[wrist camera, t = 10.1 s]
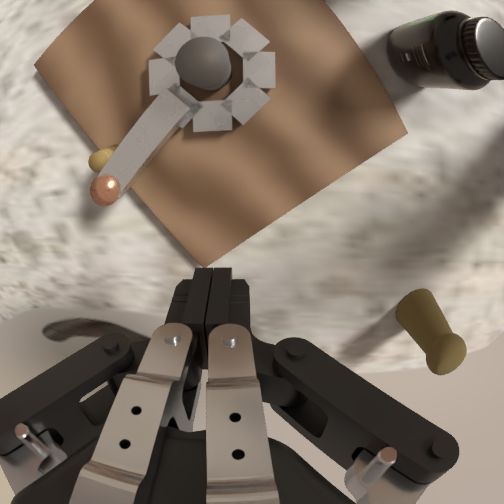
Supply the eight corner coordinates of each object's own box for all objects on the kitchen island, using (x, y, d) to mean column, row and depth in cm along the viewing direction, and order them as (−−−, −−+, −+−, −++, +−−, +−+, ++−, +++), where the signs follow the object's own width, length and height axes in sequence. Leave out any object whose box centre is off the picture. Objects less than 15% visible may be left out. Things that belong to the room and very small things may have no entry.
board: (233, -80, 14) (232, -129, 6) (400, 131, 26) (455, 147, 18) (41, 65, 20) (-16, 64, 12) (205, 261, 31) (195, 317, 24)
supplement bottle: (379, 22, 20) (453, -8, 10) (434, 29, 20) (514, 16, 9) (390, 86, 24) (471, 88, 13) (443, 89, 23) (527, 99, 13)
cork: (430, 316, 37) (466, 371, 28) (394, 329, 38) (426, 389, 28) (435, 283, 34) (479, 337, 25) (396, 296, 35) (435, 357, 25)
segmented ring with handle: (211, -2, 18) (206, -21, 14) (299, 71, 21) (311, 66, 18) (78, 154, 24) (53, 165, 20) (155, 220, 27) (142, 241, 23)
